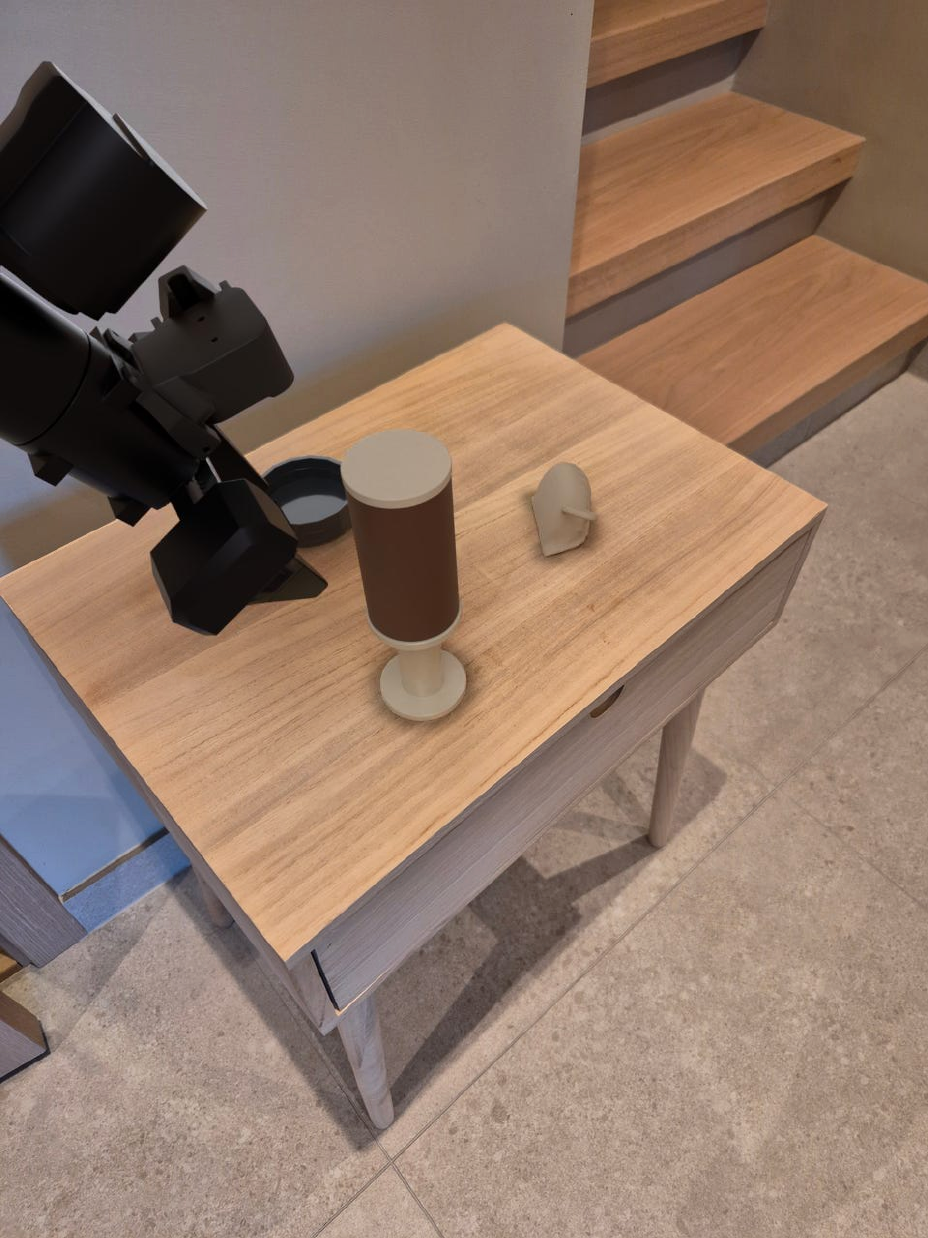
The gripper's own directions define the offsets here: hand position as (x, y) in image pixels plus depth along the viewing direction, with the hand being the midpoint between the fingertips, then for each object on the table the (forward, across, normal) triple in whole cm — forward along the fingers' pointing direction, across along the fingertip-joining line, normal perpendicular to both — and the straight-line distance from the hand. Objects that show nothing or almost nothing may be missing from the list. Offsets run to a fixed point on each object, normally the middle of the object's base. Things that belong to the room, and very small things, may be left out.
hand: (291, 538), depth 48 cm
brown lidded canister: (+7, -4, -2) cm, 8 cm away
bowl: (+14, +16, +3) cm, 21 cm away
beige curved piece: (+22, +4, -11) cm, 25 cm away
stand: (+14, -4, +2) cm, 14 cm away
